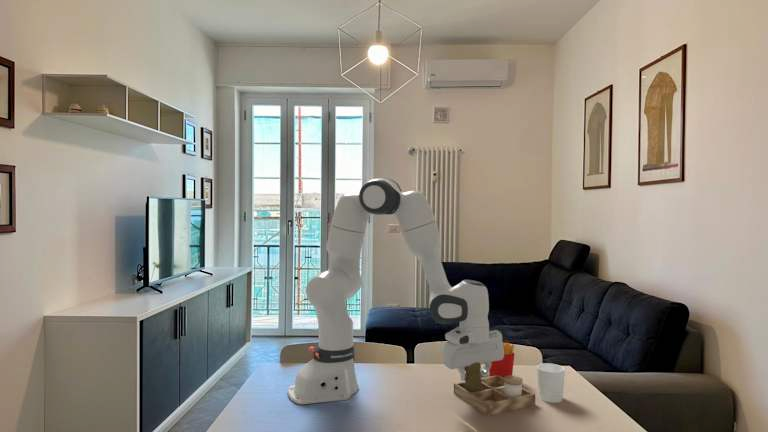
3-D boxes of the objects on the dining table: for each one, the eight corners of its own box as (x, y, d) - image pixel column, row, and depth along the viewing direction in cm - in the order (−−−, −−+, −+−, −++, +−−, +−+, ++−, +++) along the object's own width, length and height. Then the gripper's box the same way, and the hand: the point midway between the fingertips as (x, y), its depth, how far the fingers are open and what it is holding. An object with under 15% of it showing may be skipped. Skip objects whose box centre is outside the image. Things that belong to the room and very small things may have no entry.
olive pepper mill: (484, 400, 141) (481, 364, 140) (464, 399, 142) (461, 364, 141) (484, 391, 146) (481, 356, 146) (464, 391, 148) (462, 356, 147)
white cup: (547, 407, 138) (547, 373, 138) (531, 396, 145) (531, 364, 145) (570, 404, 140) (570, 370, 140) (553, 393, 147) (554, 362, 147)
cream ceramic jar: (511, 406, 137) (511, 383, 137) (499, 399, 142) (499, 377, 141) (526, 403, 139) (526, 380, 139) (514, 396, 144) (514, 374, 144)
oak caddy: (487, 418, 131) (487, 405, 131) (453, 395, 147) (453, 383, 146) (535, 406, 138) (535, 394, 138) (498, 386, 154) (498, 374, 154)
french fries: (512, 378, 160) (512, 340, 160) (515, 383, 156) (515, 344, 155) (485, 378, 161) (485, 340, 160) (487, 383, 156) (487, 344, 156)
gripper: (495, 326, 151) (495, 369, 151) (440, 334, 142) (440, 380, 143) (508, 331, 145) (508, 375, 146) (451, 340, 137) (452, 387, 137)
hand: (474, 378), depth 144 cm, fingers open, 6 cm apart
